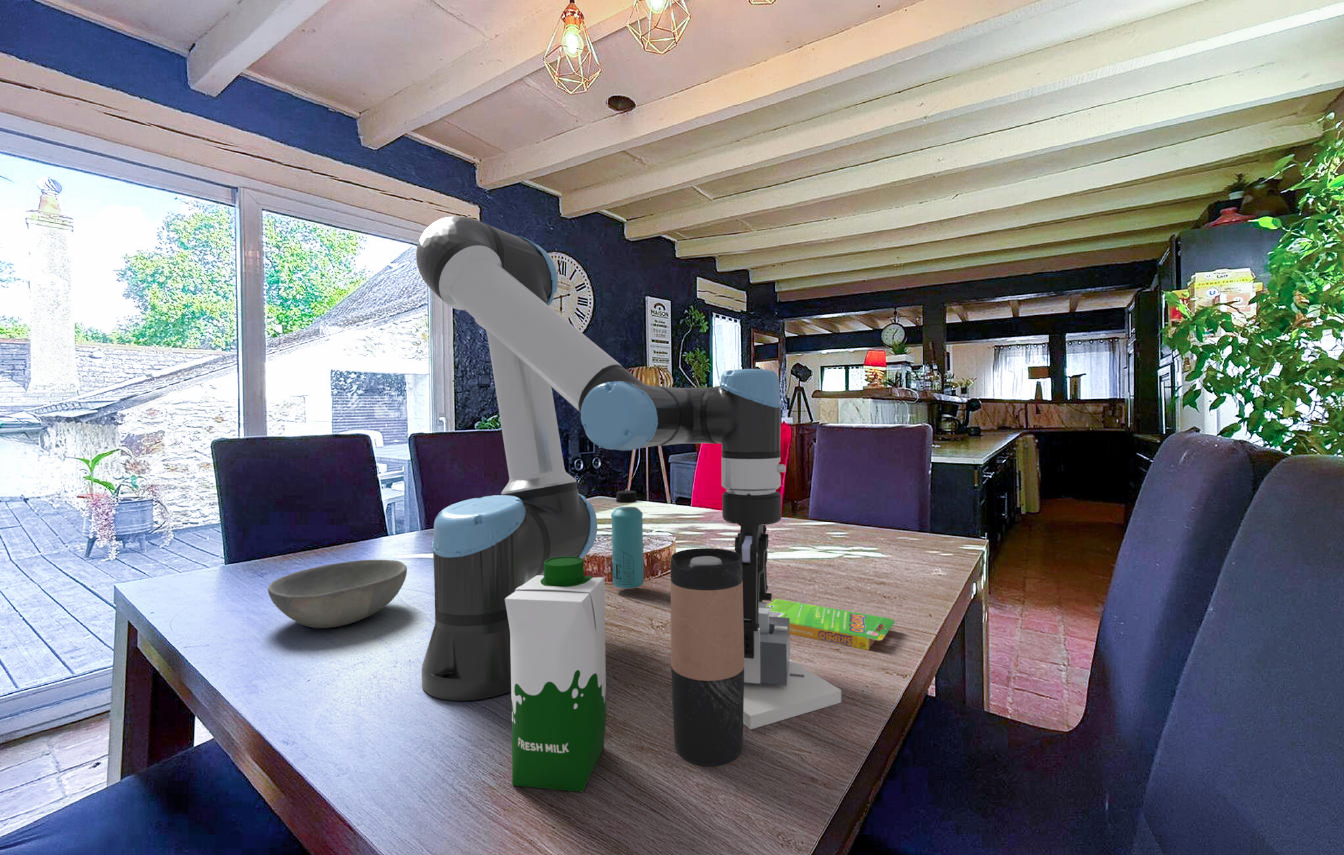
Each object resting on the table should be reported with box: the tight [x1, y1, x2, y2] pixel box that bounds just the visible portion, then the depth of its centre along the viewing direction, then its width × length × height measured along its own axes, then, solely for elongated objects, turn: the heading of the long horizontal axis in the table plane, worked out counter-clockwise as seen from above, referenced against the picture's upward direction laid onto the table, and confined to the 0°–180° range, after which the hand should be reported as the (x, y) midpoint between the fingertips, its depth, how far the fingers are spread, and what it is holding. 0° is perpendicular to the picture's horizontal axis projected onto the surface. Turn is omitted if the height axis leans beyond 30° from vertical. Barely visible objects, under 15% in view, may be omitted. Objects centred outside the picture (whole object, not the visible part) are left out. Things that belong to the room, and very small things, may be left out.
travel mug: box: [670, 547, 744, 767], centre depth 60 cm, size 8×8×20 cm
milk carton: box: [505, 556, 607, 793], centre depth 57 cm, size 9×9×20 cm
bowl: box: [267, 559, 408, 629], centre depth 100 cm, size 21×21×8 cm
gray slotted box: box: [760, 616, 791, 685], centre depth 74 cm, size 9×9×5 cm
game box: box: [767, 598, 896, 651], centre depth 93 cm, size 3×10×20 cm
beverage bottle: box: [610, 490, 646, 589], centre depth 113 cm, size 6×7×20 cm
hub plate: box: [743, 608, 842, 730], centre depth 74 cm, size 13×18×10 cm
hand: (753, 664), depth 74 cm, fingers closed on gray slotted box, 9 cm apart
